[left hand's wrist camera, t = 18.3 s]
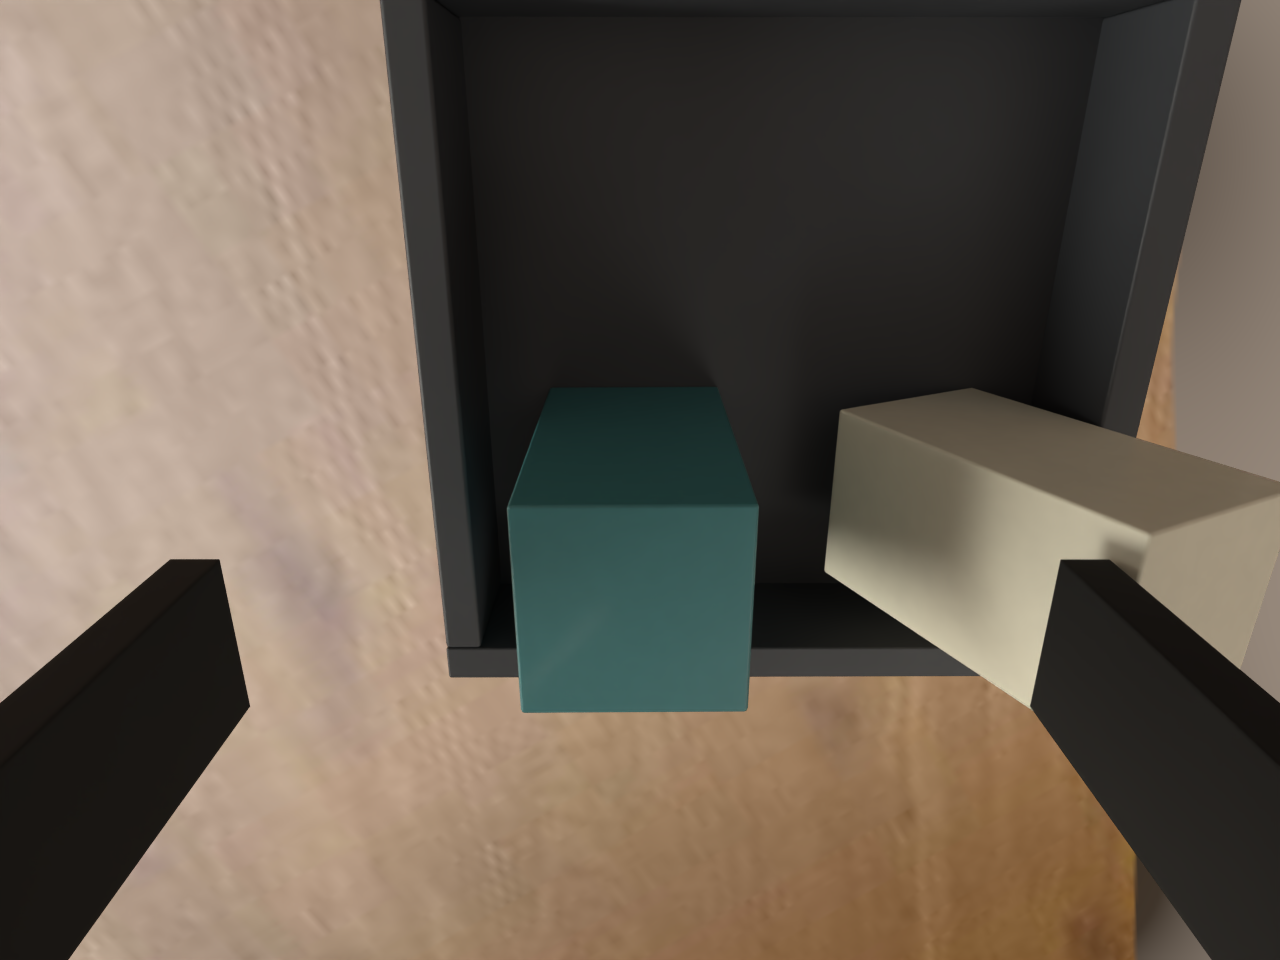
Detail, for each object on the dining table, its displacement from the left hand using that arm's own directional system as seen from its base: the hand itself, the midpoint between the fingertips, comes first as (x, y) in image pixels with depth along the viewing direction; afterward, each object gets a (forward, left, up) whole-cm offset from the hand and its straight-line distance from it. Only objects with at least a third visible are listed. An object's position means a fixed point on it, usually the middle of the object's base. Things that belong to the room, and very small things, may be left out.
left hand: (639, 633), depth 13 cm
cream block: (0, -6, -7) cm, 9 cm away
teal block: (0, 0, -8) cm, 8 cm away
